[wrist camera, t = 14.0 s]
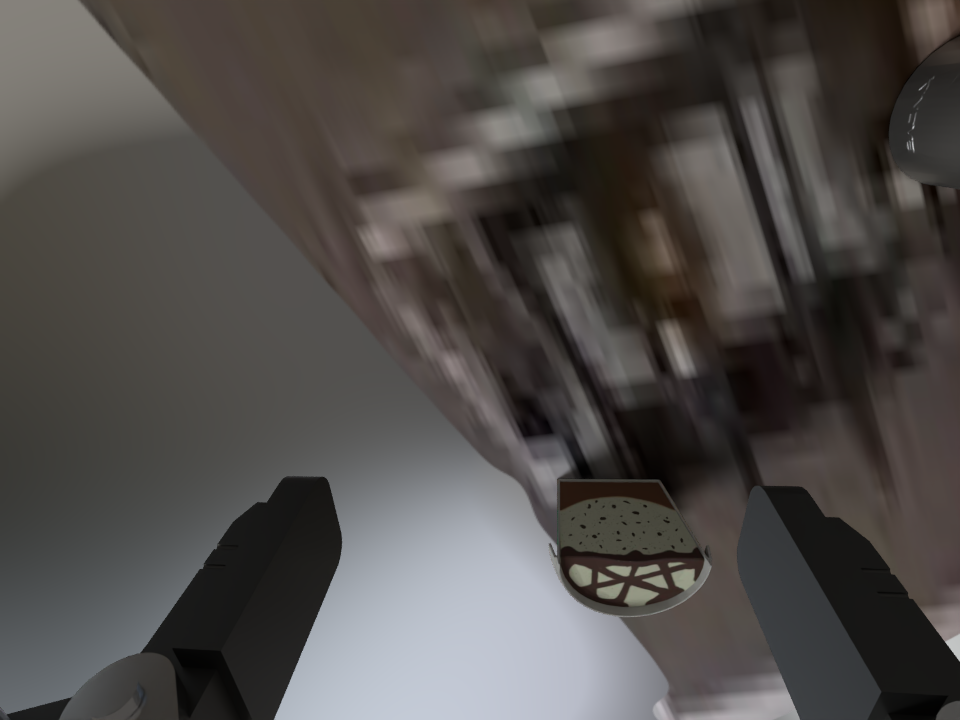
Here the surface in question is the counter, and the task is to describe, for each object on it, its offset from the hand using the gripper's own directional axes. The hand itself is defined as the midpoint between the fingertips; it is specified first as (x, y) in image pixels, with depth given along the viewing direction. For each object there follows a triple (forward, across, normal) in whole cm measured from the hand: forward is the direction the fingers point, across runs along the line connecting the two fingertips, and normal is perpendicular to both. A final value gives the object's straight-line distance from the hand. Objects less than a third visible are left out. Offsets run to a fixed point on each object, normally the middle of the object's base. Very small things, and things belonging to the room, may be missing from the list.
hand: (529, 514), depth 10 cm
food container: (+30, -6, +28) cm, 41 cm away
